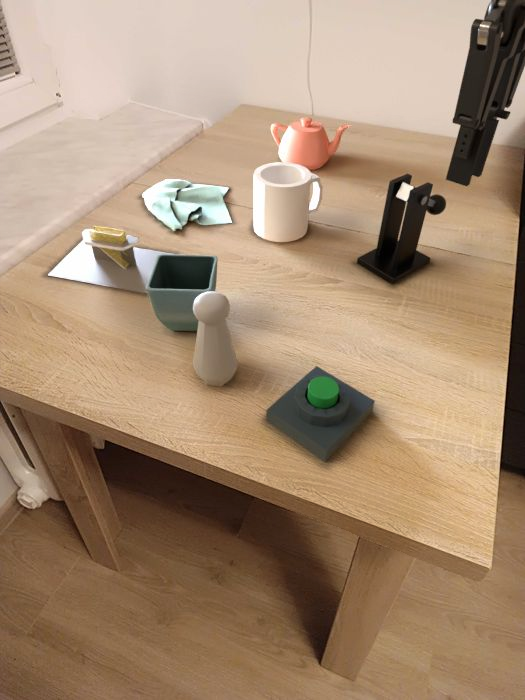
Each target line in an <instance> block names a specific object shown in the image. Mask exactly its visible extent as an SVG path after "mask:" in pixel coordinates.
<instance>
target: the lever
mask: <svg viewBox="0 0 525 700" xmlns="http://www.w3.org/2000/svg"><path fill="white" fill-rule="evenodd" d="M414 188H416V186H413V185H412V184H410V185H409V184H407V183H405V182H403V183H402V185H401V187H400V189H399V191H398V193H397V195H396V197H397V198H399V199H402V200H404V201H406V203H407V202H408V198H409V193H410V190H412V189H414ZM446 207H447V200H446V199H445V197H444V196H443V195H441V194H438V193H437V194H436V193H435V194H431V195H430V199H429V203H428V207H427V211H426V213H428V214H429V215H432V216H438V215H440V214H442V213H443V212H444V211H445V210H446V209H447V208H446Z"/></svg>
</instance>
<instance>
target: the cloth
mask: <svg viewBox="0 0 525 700" xmlns="http://www.w3.org/2000/svg"><path fill="white" fill-rule="evenodd" d="M229 189H230V187H226V186H220V185H219V186H218V185H211V184H210V185H208V184H201V183H192V182H191V181H190V180H189V181H188V180H184V179H180V178H179V179H175V178H167V179H165V180H163V181H160V182H158V183H156V184H154V185H152V186H150V187H149V188H148V189H146V190H145V191H144V192H143V193H142V195H141V198H144V204H145V206H146V208H147V210H148V211H149V212H150V213H151V215H153V216H154V217H155V218H156V219H157V220H158V221H160V222H161V223H162V224H163V225H165V226H166V227H168V228H169V229H170V230H172V232H176V231H178V230H183V227H184V226H185V225H187V223H188V220H189V221H190V222H194V223H195V224H197V225H200V226H215V225H216V226H217V225H225V224H226V225H227V224H233V221H232V218H231V215H230V213H229V211H228V208H227V206H226V203H225V201H224V196H225V195H226V194H227V192H228V191H229Z"/></svg>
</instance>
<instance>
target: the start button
mask: <svg viewBox="0 0 525 700" xmlns="http://www.w3.org/2000/svg"><path fill="white" fill-rule="evenodd" d="M338 393H339V386H338V384H337V383H336V382H335V381H334V380H333V379H331V378H328V377H316V378H314V379H313V380H311V381H310V383H309V385H308V394H307V397H308V400H309V402H310V403H311V404H312V405H313V406H315V407H317V408H322V409H325V408H330V407H332V406H334V405H335V404H336V402H337V399H338Z"/></svg>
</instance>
